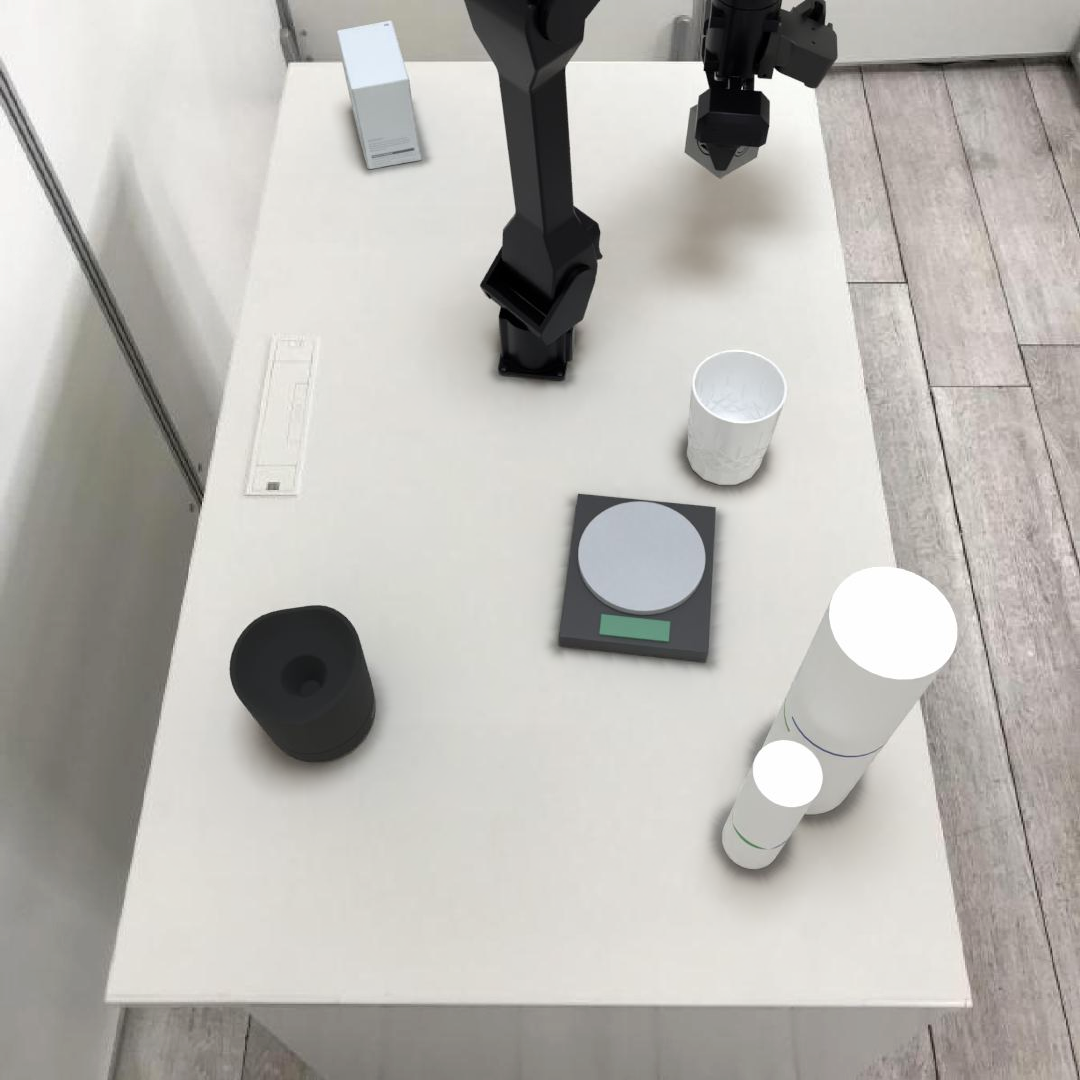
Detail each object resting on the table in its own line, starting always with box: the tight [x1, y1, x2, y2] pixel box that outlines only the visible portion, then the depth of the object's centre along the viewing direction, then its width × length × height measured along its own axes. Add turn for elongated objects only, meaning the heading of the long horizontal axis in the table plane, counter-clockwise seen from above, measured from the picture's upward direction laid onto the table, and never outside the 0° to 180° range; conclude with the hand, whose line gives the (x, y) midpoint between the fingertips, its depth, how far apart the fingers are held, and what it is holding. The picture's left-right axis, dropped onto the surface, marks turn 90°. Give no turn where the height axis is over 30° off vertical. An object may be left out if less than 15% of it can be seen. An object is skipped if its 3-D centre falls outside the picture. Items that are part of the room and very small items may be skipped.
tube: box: [721, 740, 823, 870], centre depth 73 cm, size 4×4×15 cm
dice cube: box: [684, 87, 760, 180], centre depth 102 cm, size 5×5×5 cm
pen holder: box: [228, 604, 376, 763], centre depth 80 cm, size 9×9×10 cm
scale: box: [558, 493, 717, 663], centre depth 89 cm, size 12×14×3 cm
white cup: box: [686, 349, 788, 486], centre depth 93 cm, size 8×8×10 cm
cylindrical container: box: [761, 566, 958, 815], centre depth 71 cm, size 7×7×25 cm
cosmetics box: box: [336, 19, 423, 170], centre depth 116 cm, size 10×6×10 cm, turn 14°
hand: (721, 146), depth 103 cm, fingers closed on dice cube, 6 cm apart
